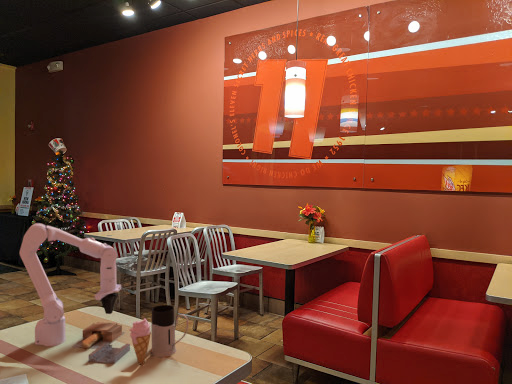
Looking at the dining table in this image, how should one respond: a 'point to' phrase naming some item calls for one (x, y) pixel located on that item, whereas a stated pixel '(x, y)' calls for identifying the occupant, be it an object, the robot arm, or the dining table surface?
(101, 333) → the axle
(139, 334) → the ice cream cone
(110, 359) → the v block
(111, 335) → the bridge block
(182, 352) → the dining table surface
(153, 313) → the glass holder
